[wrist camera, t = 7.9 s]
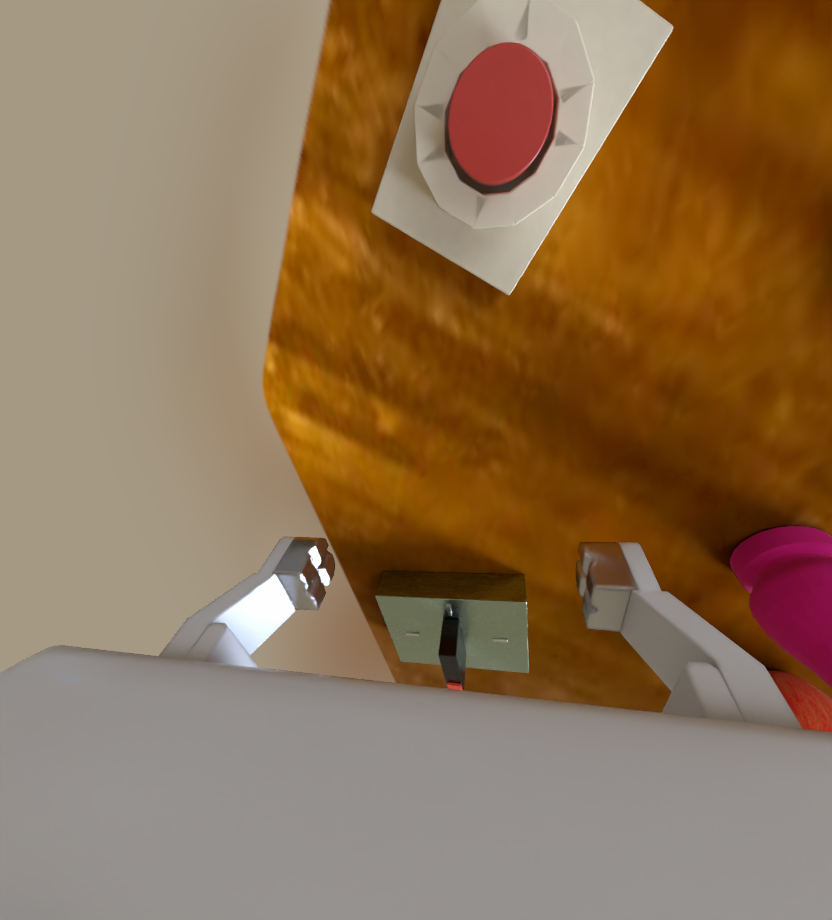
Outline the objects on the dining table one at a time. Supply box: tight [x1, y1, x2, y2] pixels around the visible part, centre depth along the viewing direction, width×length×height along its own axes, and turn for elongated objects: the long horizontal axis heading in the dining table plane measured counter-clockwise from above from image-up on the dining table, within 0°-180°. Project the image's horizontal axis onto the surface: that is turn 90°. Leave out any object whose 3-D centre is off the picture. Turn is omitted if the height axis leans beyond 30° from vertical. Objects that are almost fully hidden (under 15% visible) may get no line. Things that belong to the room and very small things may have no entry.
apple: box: [768, 671, 832, 732], centre depth 32 cm, size 8×8×8 cm
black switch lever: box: [438, 619, 466, 690], centre depth 34 cm, size 6×2×4 cm, turn 11°
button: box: [448, 42, 554, 186], centre depth 13 cm, size 4×4×2 cm
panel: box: [375, 571, 529, 673], centre depth 37 cm, size 14×12×3 cm
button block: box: [371, 0, 673, 295], centre depth 15 cm, size 10×8×4 cm
